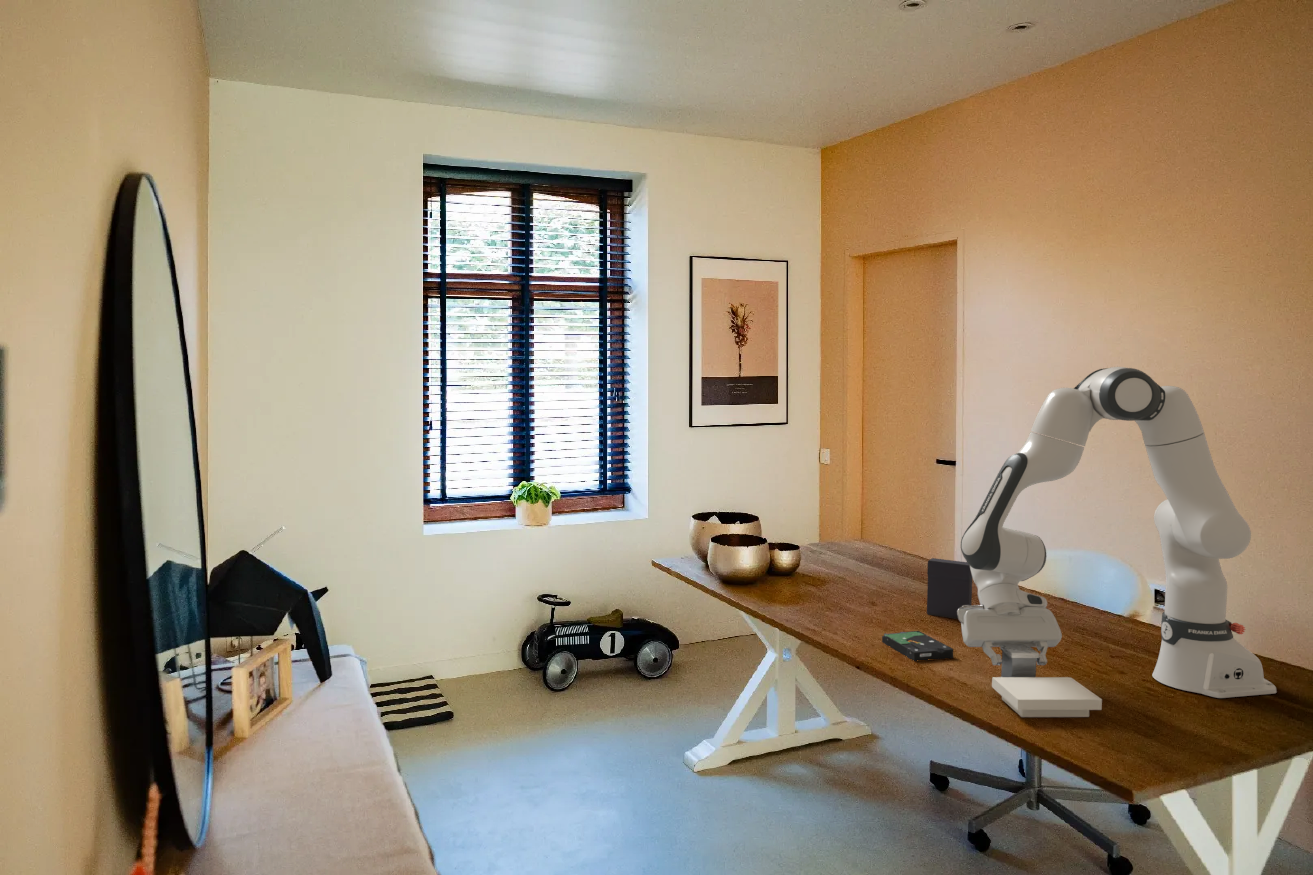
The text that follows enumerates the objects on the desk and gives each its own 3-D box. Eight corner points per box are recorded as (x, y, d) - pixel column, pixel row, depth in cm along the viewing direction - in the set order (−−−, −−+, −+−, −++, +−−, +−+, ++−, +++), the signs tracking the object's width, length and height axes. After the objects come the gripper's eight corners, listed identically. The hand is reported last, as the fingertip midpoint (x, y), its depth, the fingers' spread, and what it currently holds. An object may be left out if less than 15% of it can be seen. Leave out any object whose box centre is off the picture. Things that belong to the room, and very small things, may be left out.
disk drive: (954, 660, 201) (918, 640, 216) (954, 648, 201) (918, 629, 215) (914, 664, 199) (880, 643, 213) (914, 652, 198) (881, 632, 212)
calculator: (971, 617, 234) (973, 562, 233) (967, 621, 231) (969, 565, 230) (930, 611, 240) (932, 557, 239) (925, 614, 237) (927, 560, 235)
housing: (1025, 681, 186) (1026, 644, 186) (1037, 690, 181) (1038, 653, 180) (999, 681, 186) (1000, 644, 186) (1010, 691, 181) (1011, 653, 180)
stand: (1069, 696, 178) (1070, 677, 177) (1100, 719, 166) (1101, 699, 165) (991, 696, 177) (992, 677, 177) (1017, 720, 165) (1017, 699, 165)
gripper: (959, 597, 189) (975, 657, 180) (1053, 597, 189) (1073, 656, 180) (951, 612, 194) (966, 670, 185) (1042, 612, 194) (1062, 670, 185)
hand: (1020, 664), depth 182 cm, fingers open, 8 cm apart
